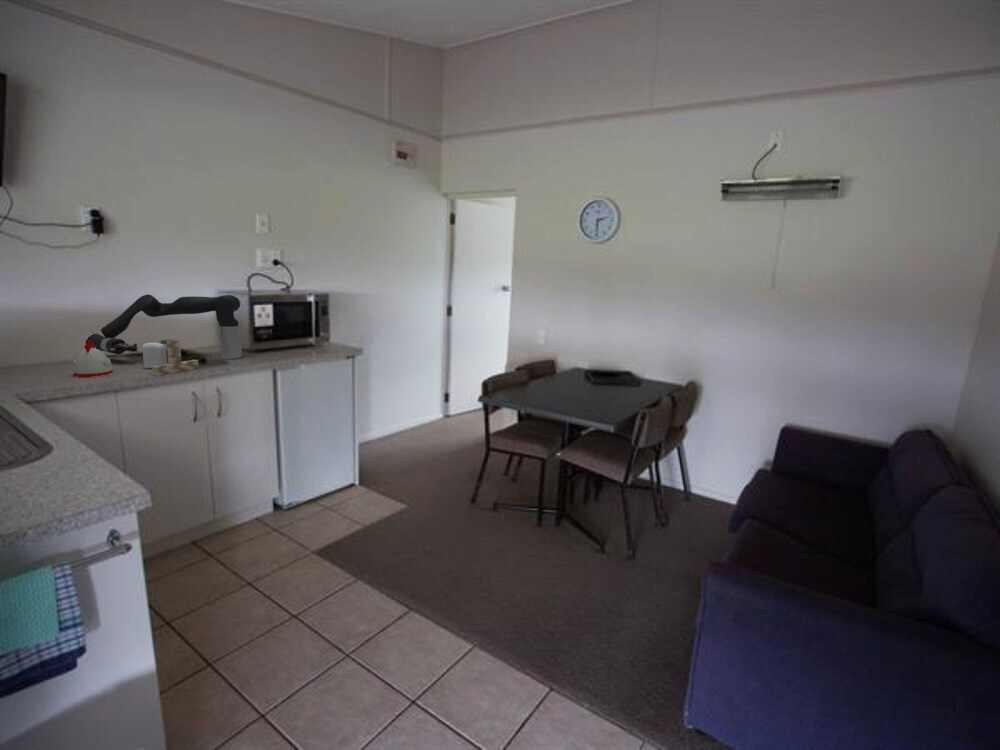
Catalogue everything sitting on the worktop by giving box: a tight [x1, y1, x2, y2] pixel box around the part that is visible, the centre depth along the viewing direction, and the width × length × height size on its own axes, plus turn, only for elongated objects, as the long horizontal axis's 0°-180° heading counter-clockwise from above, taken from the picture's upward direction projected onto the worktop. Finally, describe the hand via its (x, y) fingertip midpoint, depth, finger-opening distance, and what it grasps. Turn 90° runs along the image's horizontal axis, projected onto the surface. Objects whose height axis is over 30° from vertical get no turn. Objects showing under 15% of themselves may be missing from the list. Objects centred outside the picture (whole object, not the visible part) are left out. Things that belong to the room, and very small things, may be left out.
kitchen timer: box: [73, 341, 114, 378], centre depth 233 cm, size 14×14×15 cm
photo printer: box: [142, 342, 168, 369], centre depth 249 cm, size 10×4×12 cm, turn 84°
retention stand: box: [151, 338, 200, 377], centre depth 244 cm, size 20×7×14 cm, turn 155°
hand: (135, 349), depth 255 cm, fingers closed
